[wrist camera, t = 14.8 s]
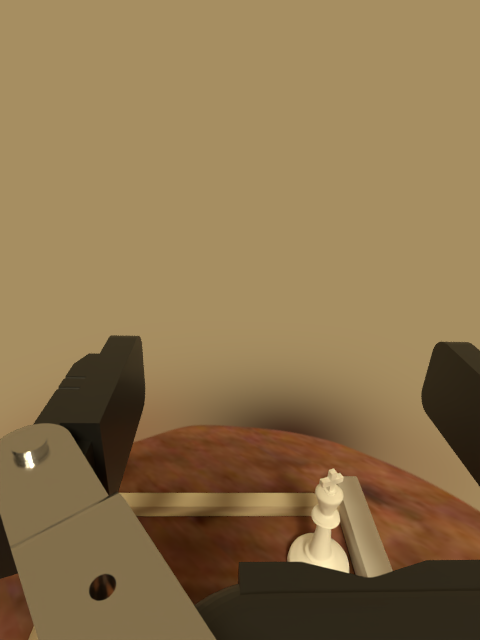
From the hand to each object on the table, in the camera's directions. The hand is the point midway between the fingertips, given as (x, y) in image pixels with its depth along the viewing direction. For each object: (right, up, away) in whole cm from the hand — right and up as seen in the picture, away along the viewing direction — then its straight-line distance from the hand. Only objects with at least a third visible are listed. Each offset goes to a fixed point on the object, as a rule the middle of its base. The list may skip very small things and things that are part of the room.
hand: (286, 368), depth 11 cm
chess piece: (+5, -19, +21) cm, 29 cm away
